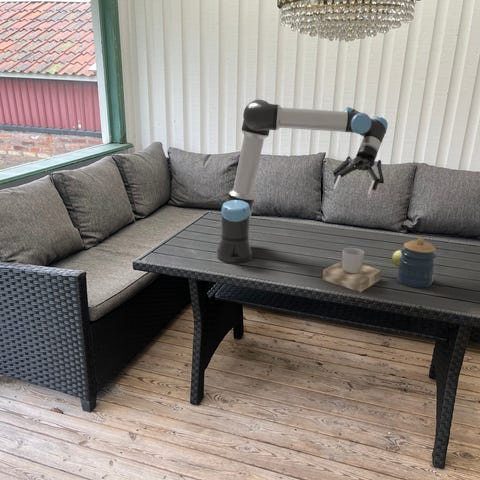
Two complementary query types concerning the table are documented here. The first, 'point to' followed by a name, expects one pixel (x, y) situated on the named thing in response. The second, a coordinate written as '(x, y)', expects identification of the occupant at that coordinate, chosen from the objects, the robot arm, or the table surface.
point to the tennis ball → (396, 257)
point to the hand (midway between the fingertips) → (351, 193)
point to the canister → (417, 264)
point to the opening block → (352, 277)
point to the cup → (352, 260)
